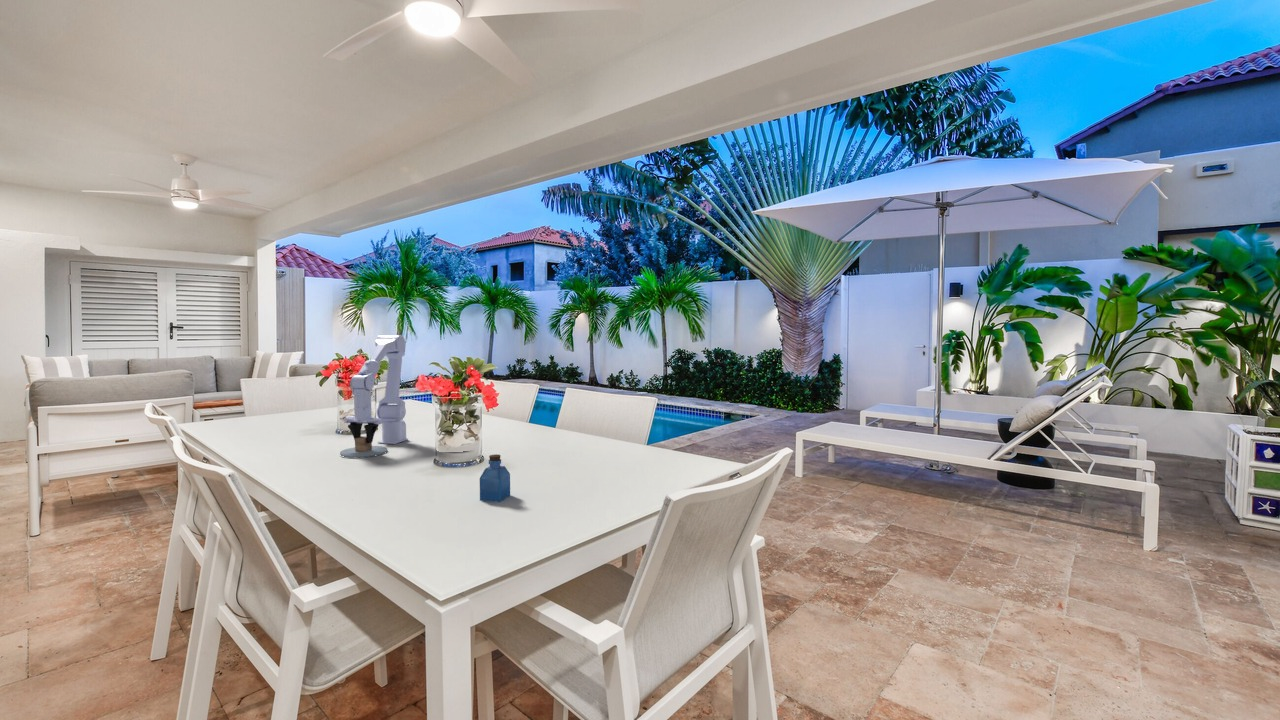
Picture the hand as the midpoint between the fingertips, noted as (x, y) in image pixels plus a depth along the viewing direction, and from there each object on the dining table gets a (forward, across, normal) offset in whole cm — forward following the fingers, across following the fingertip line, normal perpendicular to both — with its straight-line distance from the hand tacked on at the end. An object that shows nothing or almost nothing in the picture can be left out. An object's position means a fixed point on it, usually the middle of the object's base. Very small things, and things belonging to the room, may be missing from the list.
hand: (363, 442), depth 211 cm
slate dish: (+4, 0, 0) cm, 4 cm away
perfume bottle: (+4, +72, -41) cm, 83 cm away
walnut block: (+3, 0, 0) cm, 3 cm away
